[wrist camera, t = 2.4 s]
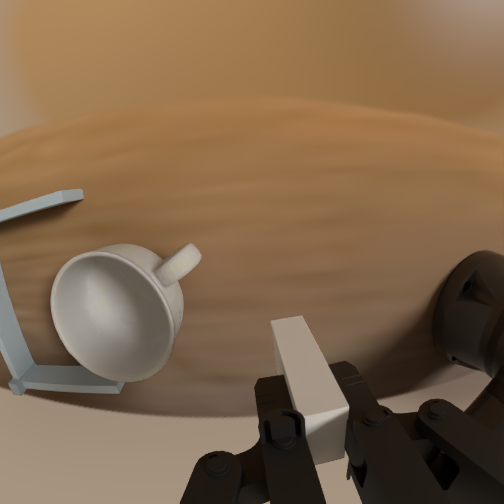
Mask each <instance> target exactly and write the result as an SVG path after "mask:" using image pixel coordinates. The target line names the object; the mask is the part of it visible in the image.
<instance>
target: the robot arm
mask: <svg viewBox="0 0 504 504" xmlns="http://www.w3.org/2000/svg"><path fill="white" fill-rule="evenodd" d="M271 328H272V336H273V344H274V353H275V361H276V368H277V372H278V375H277V376H271V377H265V378H259V379H258V381H257V383H256V385H255V387H254V389H255V396H256V404H257V411H258V418H259V426H258V428H259V433H260V438H259V441H258V442H257V443H256V445H254V446H253V447H252V448H251V449H249V450H247V451H245V452H242V453H240V454H237V455H233V454H232V453H229V452H225V451H214V452H211V453H208V454H205V455H204V456H202V457H201V458H200V459H199V460H198V462H197V463H196V465H195V467H194V470H193V472H192V474H191V477H190V479H189V482H188V485H187V487H186V489H185V492H184V494H183V497H182V499H181V501H180V504H263V503H266V502H268V501H270V504H326V501H325V497H324V494H323V491H322V488H321V484H320V481H319V478H318V475H317V471H316V468H315V465H317V464H321V463H325V462H330V461H334V460H338V459H341V458H344V455H345V450H346V453H347V454H348V457H349V462H348V469H347V480H349V479H350V476H352V479H353V481H354V483H355V486H356V489H357V491H358V494H359V496H360V499H361V501H362V504H504V256H503V255H500V254H498V253H495V252H492V251H487V250H484V251H479V252H476V253H474V254H472V255H471V256H469V257H468V258H466V259H465V260H464V261H463V262H462V263H461V264H460V265H459V266H458V267H457V268H456V269H455V271H454V272H453V273H452V275H451V276H450V278H449V279H448V281H447V283H446V285H445V286H444V288H443V290H442V293H441V295H440V297H439V300H438V303H437V306H436V310H435V314H434V320H433V338H434V342H435V345H436V347H437V349H438V350H439V352H440V353H441V354H443V355H444V356H445V357H446V358H447V359H448V360H449V361H451V362H453V363H454V364H457V365H461V366H464V367H467V368H471V369H474V370H477V371H481V372H484V373H486V374H487V375H489V376H490V377H491V378H492V380H491V382H490V383H489V384H488V386H486V388H485V389H484V390H483V391H482V392H481V393H480V395H479V396H478V397H477V398H476V399H475V400H474V401H473V403H472V404H471V405H470V406H469V407H468V408H467V409H466V410H465V411H464V412H463V411H462V410H460V409H459V408H458V407H456V406H454V405H453V404H452V403H450V402H448V401H446V400H443V399H430V400H428V401H426V402H424V403H423V404H422V405H421V406H420V407H419V410H418V412H411V413H398V414H397V413H393V412H392V411H391V410H390V409H389V408H387V407H385V406H382V405H379V404H378V402H377V401H376V399H375V397H374V396H373V394H372V393H371V391H370V390H369V388H368V386H367V385H366V383H365V382H364V380H363V379H362V377H361V376H360V374H359V372H358V371H357V369H356V368H355V366H353V365H351V364H350V363H348V362H347V361H343V362H338V363H334V364H330V365H328V364H327V362H326V360H325V358H324V356H323V355H322V353H321V351H320V349H319V347H318V345H317V343H316V341H315V339H314V337H313V336H312V334H311V332H310V330H309V328H308V326H307V324H306V322H305V320H304V318H303V317H302V316H297V317H291V318H285V319H279V320H273V321H271Z"/></svg>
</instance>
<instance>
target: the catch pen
mask: <svg viewBox="0 0 504 504" xmlns="http://www.w3.org/2000/svg"><path fill="white" fill-rule="evenodd" d="M81 199H84V197H83V190H82V189H73V190H62V191H58V192H55V193H52V194H48V195H45V196H42V197H39V198H35V199H32V200H29V201H26V202H23V203H20V204H17V205H14V206H11V207H8V208H6V209H3V210H0V223H1V222H4V221H7V220H11V219H14V218H17V217H20V216H23V215H27V214H30V213H34V212H37V211H40V210H44V209H47V208H51V207H55V206H58V205H62V204H66V203H70V202H73V201H77V200H81ZM0 351H1V353H2V355H3V357H4V360H5V362H6V364H7V366H8V368H9V370H10V372H11V374H12V377H13V378H12V379H11V380H10V382H9V383H8V385H9V387H10V389H11V391H12V392H13V394H15V395H23V393H24V392H25V391H26V390H27V388H29V389H38V390H48V391H61V392H77V393H109V394H120V392H121V389H122V387H123V385H124V383H125V382H118V381H113V380H109V379H106V378H103V377H101V376H99V375H96V374H94V373H93V372H91V371H90V370H88V369H87V368H85V367H84V366H54V365H36V363H34V361H33V359H32V356H31V354H30V352H29V349H28V347H27V344H26V342H25V339H24V337H23V334H22V332H21V329H20V326H19V324H18V321H17V318H16V315H15V312H14V309H13V306H12V303H11V300H10V297H9V294H8V290H7V287H6V283H5V280H4V276H3V272H2V268H1V264H0Z"/></svg>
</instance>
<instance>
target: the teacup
mask: <svg viewBox="0 0 504 504" xmlns="http://www.w3.org/2000/svg"><path fill="white" fill-rule="evenodd" d="M200 260H201V254H200V252H199V250H198V249H197V248H196V247H195V246H194V245H193V244H191V243H187V244H185V245H184V246H183V247H181V248H180V249H178V250H177V251H176V252H174V253H173V254H172V255H170V256H169V257H168V258H166V259H164V260H162V259H161V258H160V257H159V256H157V255H156V254H155V253H153V252H151V251H150V250H148V249H146V248H143V247H140V246H137V245H132V244H115V245H110V246H106V247H103V248H99V249H97V250H94V251H89V252H85V253H82V254H80V255H77V256H76V257H74V258H72V259H71V260H69V261H68V262H67V263H66V264H64V266H63V267H62V268H61V269H60V271H59V272H58V274H57V276H56V278H55V280H54V283H53V287H52V291H51V313H52V318H53V321H54V325H55V328H56V330H57V332H58V335H59V337H60V339H61V340H62V342H63V344H64V345H65V347H66V349H67V350H68V352H69V353H71V355H72V356H73V357H74V358H75V359H76V360H77V361H78V362H79V363H80V364H81V365H82V366H84V367H85V368H87V369H88V370H90V371H91V372H93V373H94V374H96V375H99V376H101V377H103V378H106V379H109V380H113V381H118V382H137V381H141V380H144V379H147V378H149V377H151V376H153V375H155V374H156V373H157V372H159V370H160V369H161V368H162V367H163V366H164V365H165V364H166V362H167V361H168V359H169V358H170V356H171V353H172V349H173V346H174V342H175V339H176V337H177V334H178V332H179V329H180V326H181V322H182V317H183V296H182V291H181V288H180V285H179V283H178V280H179V279H181V278H182V277H184V276H185V275H186V274H187V273H188V272H190V271H191V270H192V269H193V268H194V267H195V266H196V265H197V264H198V263H199V262H200Z"/></svg>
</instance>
